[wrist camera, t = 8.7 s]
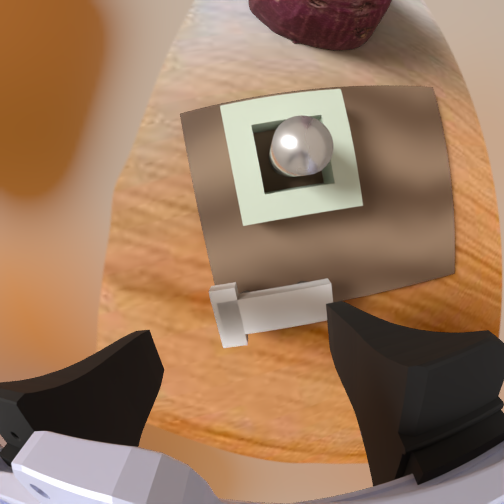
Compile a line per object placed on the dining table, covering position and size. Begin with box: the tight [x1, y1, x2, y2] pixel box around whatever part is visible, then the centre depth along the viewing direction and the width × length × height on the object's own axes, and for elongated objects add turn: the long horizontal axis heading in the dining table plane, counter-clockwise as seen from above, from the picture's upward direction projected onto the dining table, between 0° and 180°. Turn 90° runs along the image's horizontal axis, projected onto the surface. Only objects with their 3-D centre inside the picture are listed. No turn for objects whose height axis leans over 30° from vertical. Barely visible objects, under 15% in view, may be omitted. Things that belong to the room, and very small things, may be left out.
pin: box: [269, 115, 334, 177], centre depth 15 cm, size 3×3×7 cm
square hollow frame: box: [220, 89, 363, 226], centre depth 17 cm, size 7×7×3 cm
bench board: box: [180, 86, 455, 348], centre depth 18 cm, size 16×19×4 cm
